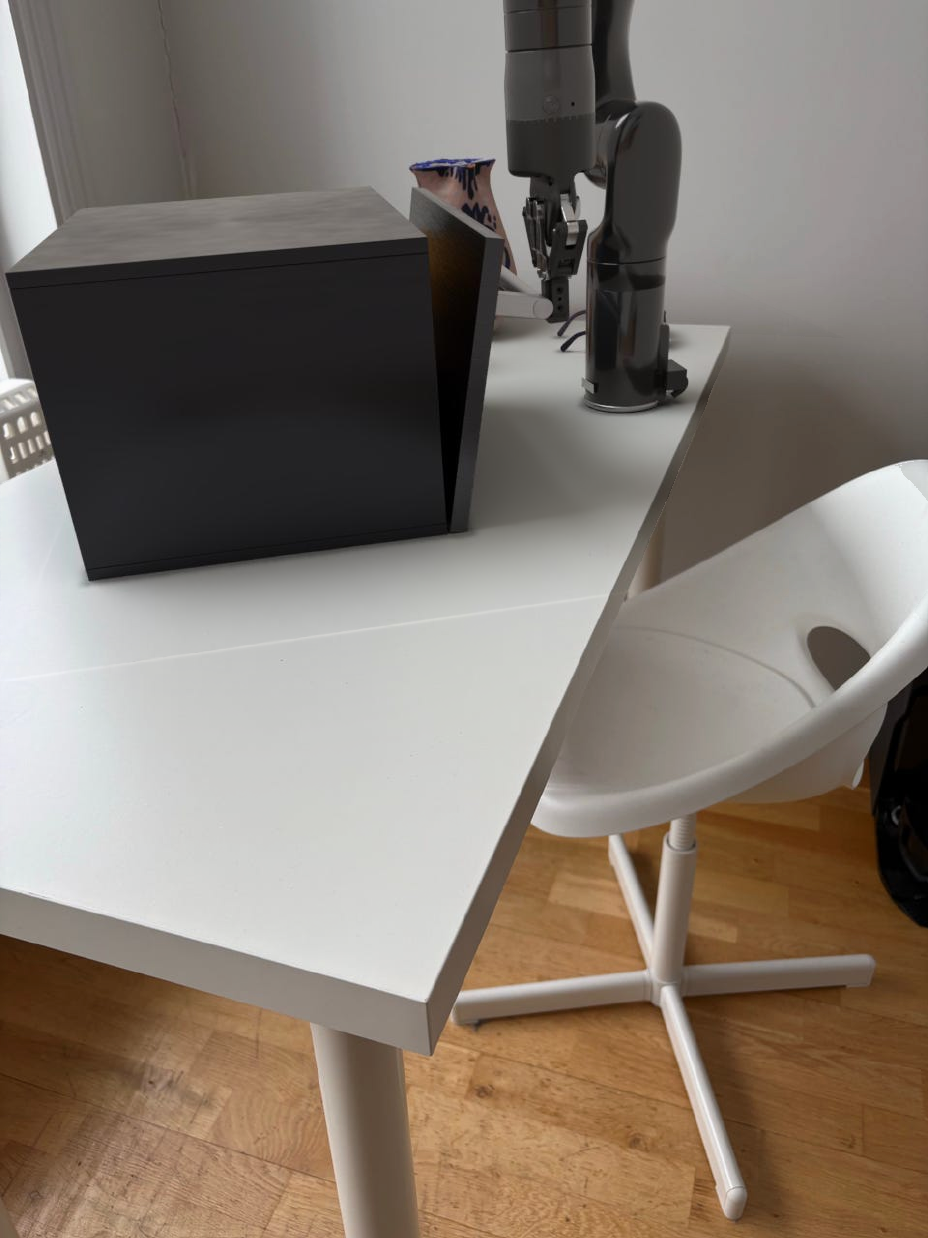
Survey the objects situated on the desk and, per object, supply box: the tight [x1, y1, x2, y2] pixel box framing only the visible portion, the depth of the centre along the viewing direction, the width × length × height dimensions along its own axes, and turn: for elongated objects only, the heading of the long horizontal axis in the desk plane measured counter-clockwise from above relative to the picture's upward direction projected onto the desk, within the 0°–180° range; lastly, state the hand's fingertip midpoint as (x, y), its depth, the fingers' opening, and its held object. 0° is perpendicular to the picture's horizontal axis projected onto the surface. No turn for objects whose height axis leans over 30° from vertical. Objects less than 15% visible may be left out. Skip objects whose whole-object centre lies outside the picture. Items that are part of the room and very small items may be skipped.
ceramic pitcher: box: [408, 157, 518, 331], centre depth 152 cm, size 18×21×25 cm
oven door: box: [408, 186, 553, 533], centre depth 102 cm, size 8×40×26 cm, turn 11°
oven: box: [4, 185, 448, 582], centre depth 99 cm, size 32×40×26 cm
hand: (555, 320), depth 91 cm, fingers closed
